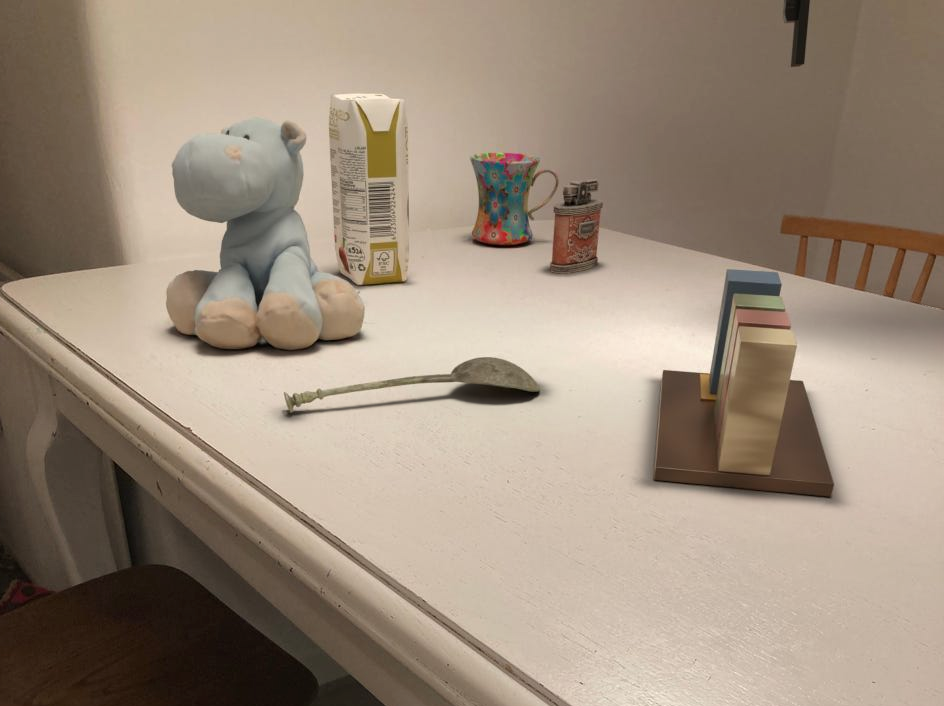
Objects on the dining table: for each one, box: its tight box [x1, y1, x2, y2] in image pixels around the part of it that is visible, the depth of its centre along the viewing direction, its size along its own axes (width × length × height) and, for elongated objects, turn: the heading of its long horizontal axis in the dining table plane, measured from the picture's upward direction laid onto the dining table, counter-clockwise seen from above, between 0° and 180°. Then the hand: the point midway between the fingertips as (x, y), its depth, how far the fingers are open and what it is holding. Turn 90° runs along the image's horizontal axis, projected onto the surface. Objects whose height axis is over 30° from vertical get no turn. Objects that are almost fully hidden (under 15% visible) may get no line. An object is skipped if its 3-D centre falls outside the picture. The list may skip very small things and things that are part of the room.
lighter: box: [549, 178, 604, 274], centre depth 119 cm, size 8×3×10 cm, turn 137°
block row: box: [653, 294, 835, 498], centre depth 73 cm, size 12×22×10 cm, turn 169°
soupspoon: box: [283, 356, 541, 414], centre depth 80 cm, size 22×3×7 cm
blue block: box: [709, 268, 783, 394], centre depth 78 cm, size 4×4×9 cm
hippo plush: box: [165, 116, 366, 351], centre depth 92 cm, size 18×23×18 cm
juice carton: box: [328, 93, 410, 286], centre depth 110 cm, size 8×9×19 cm
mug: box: [469, 152, 560, 246], centre depth 131 cm, size 12×9×11 cm
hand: (877, 60), depth 85 cm, fingers open, 13 cm apart
